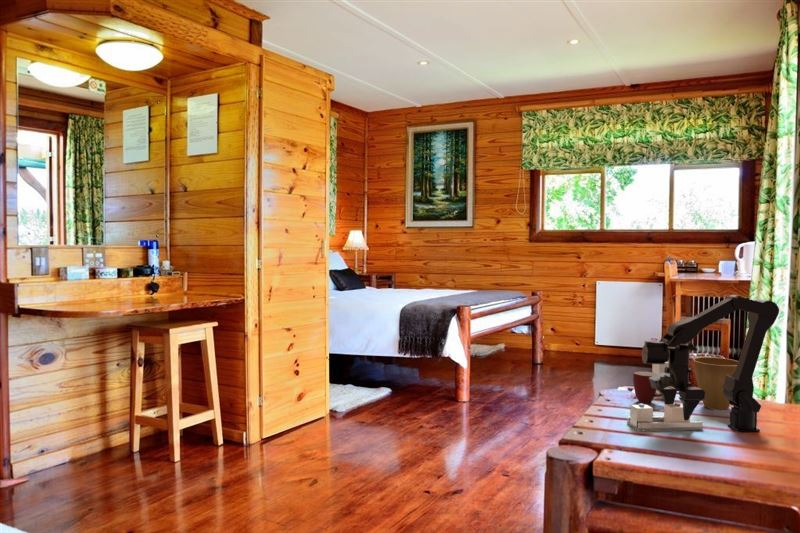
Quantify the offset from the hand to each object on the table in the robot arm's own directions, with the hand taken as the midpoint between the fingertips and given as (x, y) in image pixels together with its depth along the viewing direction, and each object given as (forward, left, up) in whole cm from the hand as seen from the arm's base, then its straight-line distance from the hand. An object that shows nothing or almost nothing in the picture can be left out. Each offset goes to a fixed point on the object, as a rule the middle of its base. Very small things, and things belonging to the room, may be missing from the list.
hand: (677, 416), depth 191 cm
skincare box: (-19, -42, -3) cm, 46 cm away
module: (0, 0, -2) cm, 2 cm away
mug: (-7, -29, -3) cm, 30 cm away
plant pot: (-27, -21, -3) cm, 34 cm away
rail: (+4, 0, -3) cm, 5 cm away
